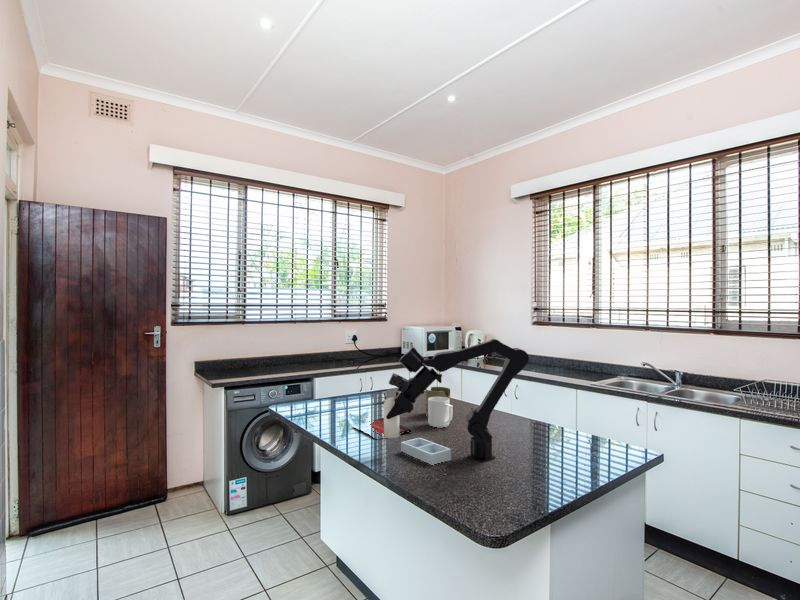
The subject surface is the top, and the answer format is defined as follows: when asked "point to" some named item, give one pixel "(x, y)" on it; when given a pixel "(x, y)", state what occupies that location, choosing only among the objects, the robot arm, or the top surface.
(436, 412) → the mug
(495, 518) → the top surface
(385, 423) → the cream rounded cylinder
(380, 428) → the binder
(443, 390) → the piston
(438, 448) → the divided tray
